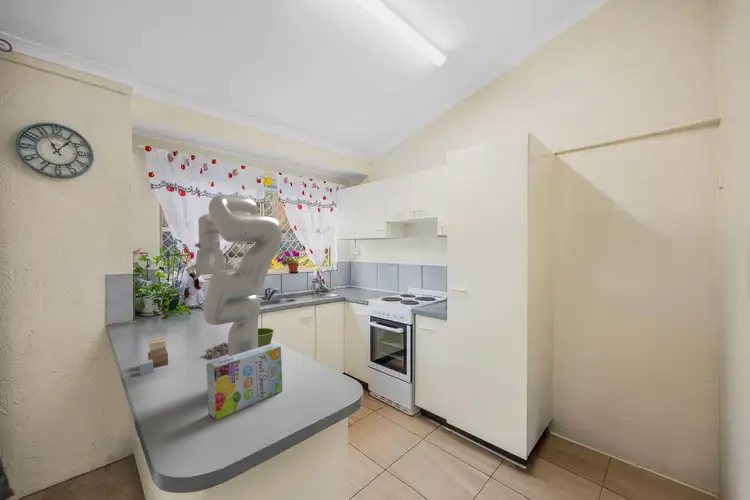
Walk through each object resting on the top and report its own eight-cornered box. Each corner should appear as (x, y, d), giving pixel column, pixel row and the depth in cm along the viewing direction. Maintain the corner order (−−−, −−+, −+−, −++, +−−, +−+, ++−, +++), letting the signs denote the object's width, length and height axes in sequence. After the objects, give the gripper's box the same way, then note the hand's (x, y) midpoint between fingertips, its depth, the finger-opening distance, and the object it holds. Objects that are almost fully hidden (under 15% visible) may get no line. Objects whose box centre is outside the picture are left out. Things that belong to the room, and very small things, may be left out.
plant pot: (265, 364, 123) (264, 336, 123) (238, 362, 126) (238, 335, 125) (280, 353, 135) (279, 328, 135) (255, 352, 137) (254, 327, 137)
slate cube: (153, 372, 117) (153, 362, 117) (140, 375, 115) (139, 365, 115) (152, 369, 120) (152, 359, 120) (139, 372, 118) (139, 361, 118)
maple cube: (165, 352, 124) (165, 340, 124) (150, 355, 121) (150, 343, 121) (164, 349, 128) (164, 337, 128) (149, 352, 125) (149, 340, 125)
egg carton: (214, 360, 130) (214, 350, 129) (202, 357, 133) (202, 348, 133) (235, 351, 139) (235, 342, 139) (224, 349, 142) (224, 340, 142)
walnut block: (168, 365, 125) (167, 352, 124) (149, 369, 121) (149, 356, 120) (166, 360, 129) (165, 349, 129) (148, 364, 125) (147, 352, 125)
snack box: (273, 386, 105) (272, 342, 104) (283, 391, 101) (282, 345, 101) (207, 414, 88) (205, 362, 88) (216, 421, 85) (214, 367, 84)
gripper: (186, 246, 119) (187, 291, 119) (234, 245, 129) (235, 286, 130) (183, 246, 124) (185, 289, 125) (229, 245, 135) (230, 284, 136)
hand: (210, 287), depth 127 cm, fingers open, 9 cm apart
